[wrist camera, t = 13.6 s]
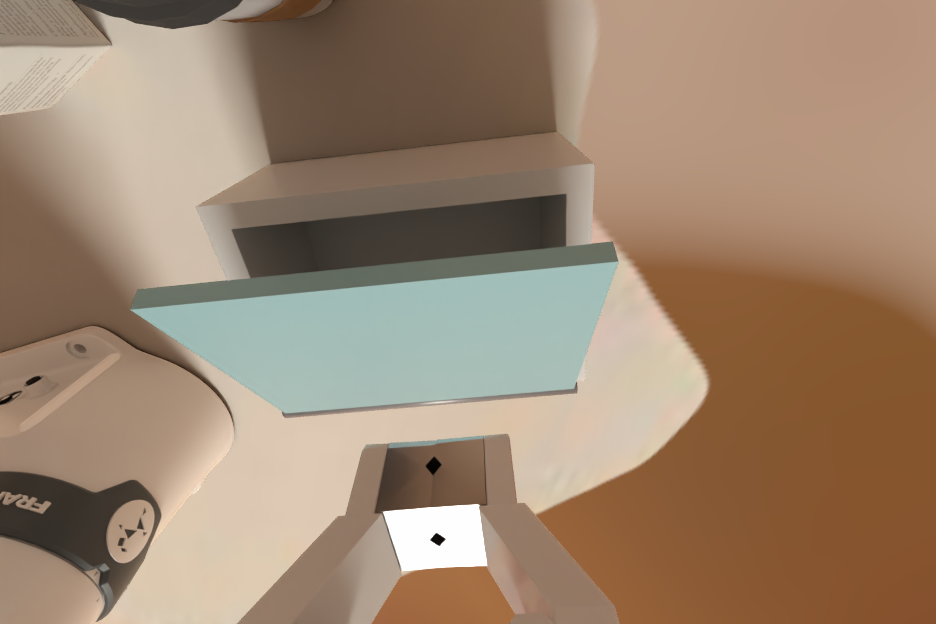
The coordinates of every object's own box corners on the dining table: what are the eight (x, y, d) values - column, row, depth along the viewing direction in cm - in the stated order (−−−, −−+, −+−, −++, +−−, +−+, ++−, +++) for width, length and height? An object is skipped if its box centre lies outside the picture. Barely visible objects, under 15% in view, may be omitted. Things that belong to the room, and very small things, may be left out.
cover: (291, 403, 26) (288, 420, 25) (133, 287, 15) (123, 312, 14) (572, 378, 25) (576, 395, 24) (618, 238, 14) (625, 263, 14)
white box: (323, 326, 34) (281, 407, 26) (270, 163, 28) (195, 206, 20) (557, 303, 33) (585, 380, 25) (556, 131, 27) (594, 163, 19)
